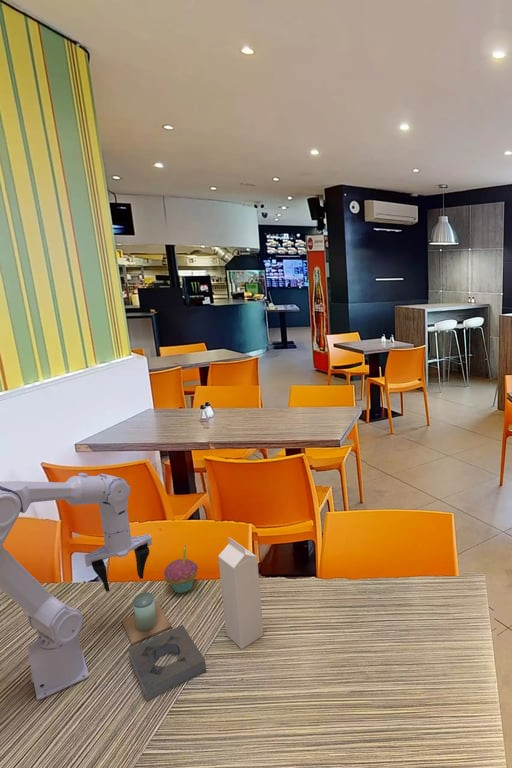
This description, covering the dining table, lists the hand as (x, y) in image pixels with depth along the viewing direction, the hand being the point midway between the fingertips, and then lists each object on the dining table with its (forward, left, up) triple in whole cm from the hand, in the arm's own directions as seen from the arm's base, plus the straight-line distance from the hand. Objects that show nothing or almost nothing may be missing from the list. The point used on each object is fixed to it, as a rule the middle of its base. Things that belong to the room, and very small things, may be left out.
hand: (124, 582), depth 102 cm
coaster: (+3, -3, -10) cm, 11 cm away
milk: (+20, -19, -11) cm, 30 cm away
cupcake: (+15, +5, -11) cm, 19 cm away
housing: (+3, -17, -10) cm, 20 cm away
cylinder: (+3, -4, -10) cm, 11 cm away
